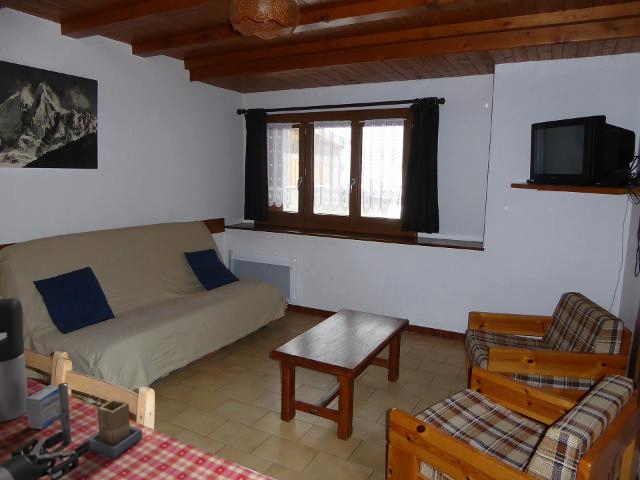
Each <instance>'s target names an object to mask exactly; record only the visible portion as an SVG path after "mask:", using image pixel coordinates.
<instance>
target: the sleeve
mask: <svg viewBox="0 0 640 480" xmlns="http://www.w3.org/2000/svg"><path fill="white" fill-rule="evenodd" d="M129 405H130V403H129V402H126V401H123V400H120V399H116V398H112V399H111V400H109V401H107V402H105V403H104V404H102V405H100V406H99V407H97V415H98V416H97V417H98V418H97V419H98V432H99V439H100V442H102V443H105V444H108V445H110V446H113V447H115V446H116V445H118V444H119V443H120V442H122V441H123V440H125V439H126V438H128V437H129V436H130V426H131V425H130V406H129Z"/></svg>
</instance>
